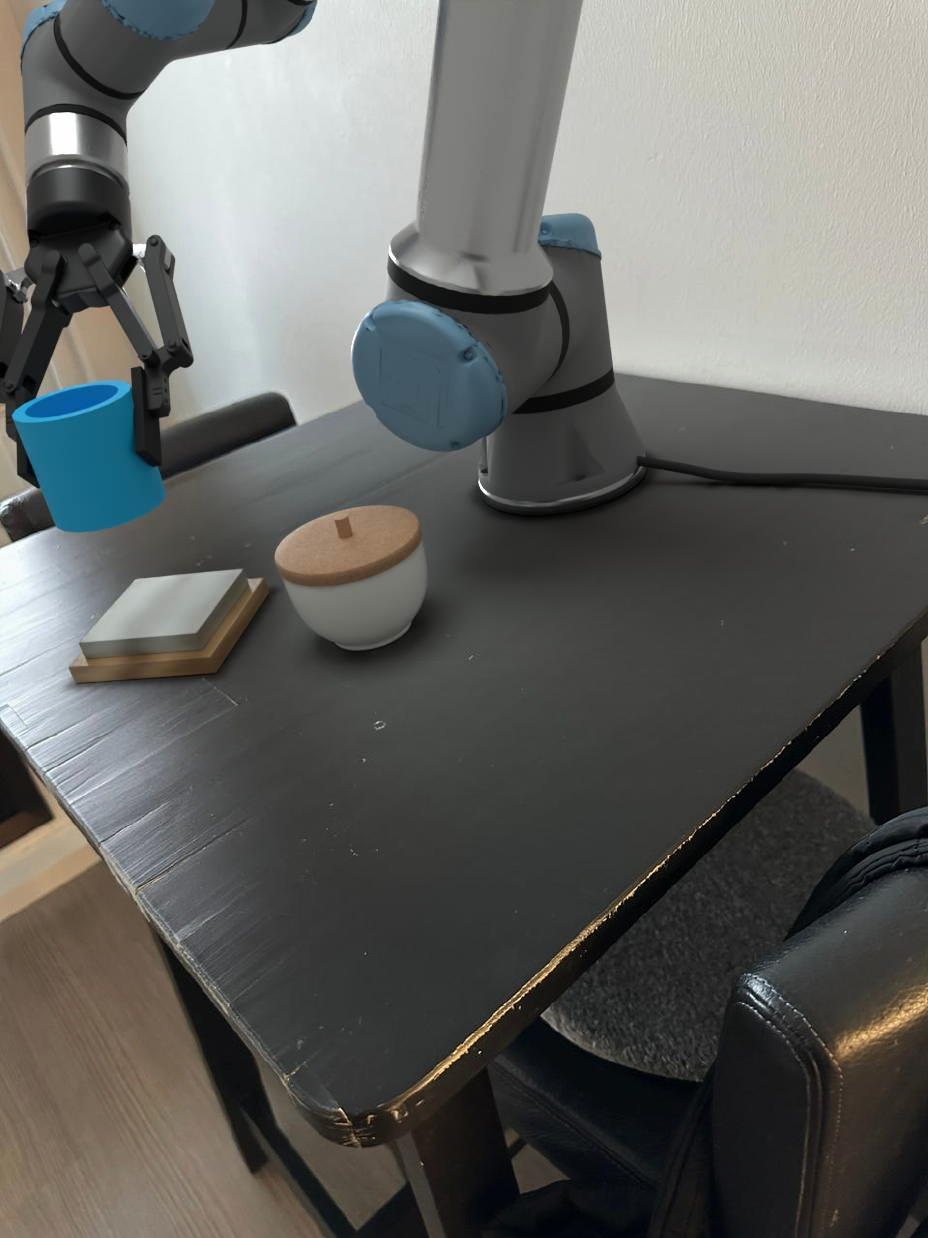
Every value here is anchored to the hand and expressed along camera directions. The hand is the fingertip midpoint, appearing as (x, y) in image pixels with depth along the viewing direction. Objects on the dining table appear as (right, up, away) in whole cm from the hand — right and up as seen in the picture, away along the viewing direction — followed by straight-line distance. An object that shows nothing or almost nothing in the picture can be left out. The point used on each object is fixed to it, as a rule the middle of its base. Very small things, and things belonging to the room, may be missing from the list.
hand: (90, 469), depth 72 cm
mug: (+1, -1, +5) cm, 5 cm away
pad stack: (+3, -12, +10) cm, 16 cm away
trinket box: (+19, -11, +5) cm, 23 cm away
